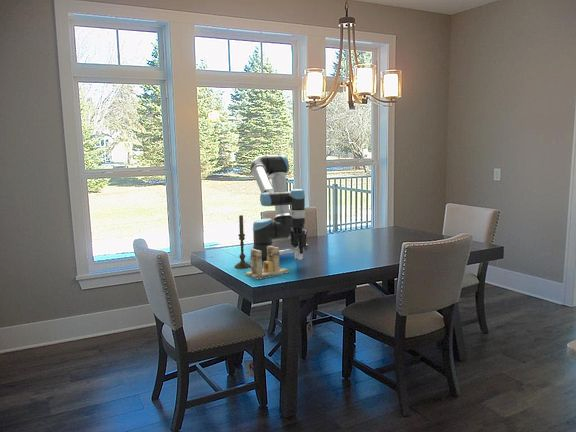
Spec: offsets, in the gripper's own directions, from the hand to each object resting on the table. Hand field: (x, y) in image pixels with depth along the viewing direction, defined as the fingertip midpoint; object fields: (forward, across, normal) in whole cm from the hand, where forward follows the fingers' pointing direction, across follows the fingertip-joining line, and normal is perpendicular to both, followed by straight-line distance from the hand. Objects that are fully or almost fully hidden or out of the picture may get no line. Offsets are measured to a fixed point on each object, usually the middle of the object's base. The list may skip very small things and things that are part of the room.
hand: (298, 258), depth 265 cm
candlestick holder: (+5, -22, -23) cm, 32 cm away
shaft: (-4, 0, -6) cm, 7 cm away
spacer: (+3, 0, -21) cm, 21 cm away
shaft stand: (+5, 0, -22) cm, 22 cm away
